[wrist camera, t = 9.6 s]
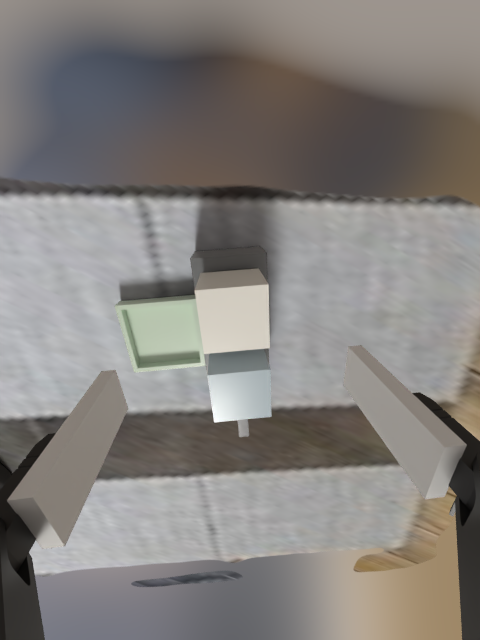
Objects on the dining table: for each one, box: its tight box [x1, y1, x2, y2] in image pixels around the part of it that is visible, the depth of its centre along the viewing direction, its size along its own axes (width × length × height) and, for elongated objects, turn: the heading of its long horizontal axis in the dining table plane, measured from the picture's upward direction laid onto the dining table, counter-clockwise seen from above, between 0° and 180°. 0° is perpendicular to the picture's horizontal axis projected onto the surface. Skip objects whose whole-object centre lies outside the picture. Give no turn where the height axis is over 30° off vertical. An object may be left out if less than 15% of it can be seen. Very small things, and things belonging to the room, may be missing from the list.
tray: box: [115, 295, 206, 372], centre depth 34 cm, size 10×10×2 cm
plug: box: [195, 268, 270, 354], centre depth 26 cm, size 6×6×11 cm
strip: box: [190, 246, 271, 437], centre depth 29 cm, size 8×21×12 cm, turn 4°
